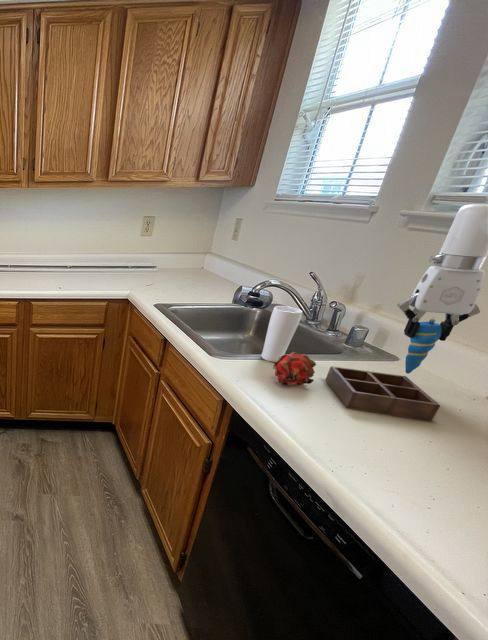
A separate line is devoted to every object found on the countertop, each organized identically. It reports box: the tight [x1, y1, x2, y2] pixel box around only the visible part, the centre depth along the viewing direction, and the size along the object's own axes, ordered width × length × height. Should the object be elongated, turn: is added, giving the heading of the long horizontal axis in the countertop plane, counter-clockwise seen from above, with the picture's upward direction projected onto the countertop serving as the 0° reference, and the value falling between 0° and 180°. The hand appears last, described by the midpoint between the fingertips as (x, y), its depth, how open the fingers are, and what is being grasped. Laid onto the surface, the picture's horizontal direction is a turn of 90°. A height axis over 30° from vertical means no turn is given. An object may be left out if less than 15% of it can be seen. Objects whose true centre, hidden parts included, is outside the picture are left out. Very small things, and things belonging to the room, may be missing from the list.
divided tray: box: [324, 365, 441, 422], centre depth 99 cm, size 15×15×4 cm
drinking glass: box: [260, 305, 303, 363], centre depth 117 cm, size 7×7×15 cm
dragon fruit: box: [272, 351, 317, 387], centre depth 105 cm, size 8×8×12 cm
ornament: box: [404, 317, 442, 374], centre depth 103 cm, size 5×5×15 cm
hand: (424, 336), depth 102 cm, fingers closed on ornament, 5 cm apart
